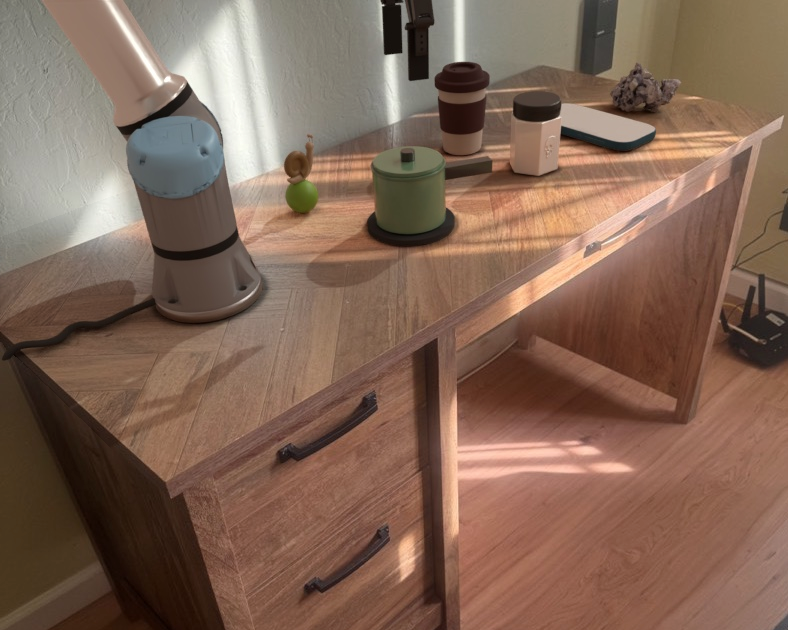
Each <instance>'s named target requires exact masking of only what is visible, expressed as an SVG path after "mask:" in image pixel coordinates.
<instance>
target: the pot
mask: <svg viewBox="0 0 788 630" xmlns="http://www.w3.org/2000/svg"><path fill="white" fill-rule="evenodd" d="M369 166H370V167H369V168H370V172H371V178H372V190H373V204H374V211H375V218H376V223H377V225H378V226H379V227H380V228H382V229H384V230H386V231H389V232H392V233H398V234H417V233H423V232H427V231H430V230H433V229H435V228H437V227H439V226H440V225H441V224H442V223H443V222H444V221H445V218H446V208H447V205H446V203H447V201H446V200H447V199H446V197H447V196H446V181H449V180H455V179H456V180H457V179H461V178H468V177H474V176H480V175H486V174H491V173H493V159H492V158H491V157H490V156H489V155H485V156H484V155H483V156H479V157H472V158H467V159H461V160H455V161H449V162H447V161H446V158H445V157H444V156H443V154H441V152H440V151H438V150H436V149H433V148H430V147H425V146H417V145H415V146H414V145H407V146H406V145H405V146H399V147H393V148H389V149H387V150H384V151H381V152H380V153H378V154H377V155H376V156H375V157H374V158H373V159H372V161H371V162H370V164H369Z"/></svg>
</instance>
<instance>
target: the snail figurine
mask: <svg viewBox="0 0 788 630" xmlns="http://www.w3.org/2000/svg"><path fill="white" fill-rule="evenodd" d="M306 136H307V138H308V141H307V142H306V143H305V145H304V147H305V153H304V152H303V151H301V150H293V151H291V152H289V153H288V154H287V156H286V157H285V159H284V163H283V170H284V172H285V173H284V174H286V176H288V177H289V178H287V179H286V182H288V183H289V184H288V185H287V187H286V190H285V196H284V197H285V202H286V204H287V205H288V207H289V208H290V209H291V210H292V211H294V212H296V213H299V214H306V213H309V212H311V211H312V210H314V208H315V207H316V206H317V204H318V201H319V192H318V188H317V187H316V186H315V184H314V183H313V182H312V181H310V180H308V179H307V177H309V175H310V174H311V172H312V168H313V165H314V147H315V146H314V143H313V141H311V139H313V138H314V135H313V134H310V133H308V134H307V135H306Z"/></svg>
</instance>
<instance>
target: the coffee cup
mask: <svg viewBox="0 0 788 630" xmlns="http://www.w3.org/2000/svg"><path fill="white" fill-rule="evenodd" d="M490 77H491V75H490V74H489V72H487V71H486V70H484V69H483V68H482V66H481V64H479V63H477V62H472V61H456V62H451V63H447V64H445V65H444V66H443V67H442V69H441V71H440V72H438V73H437V74H436V75H435V76H434V79H433V80H434V87H435V89H437V91H438V95H437V105H438V117H439V127H440V130H441V138H442V139H441V140H442V149H443V151H444V152H446V153H448V154H449V155H452V156H453V155H454V156H468V155H473V154H476V153H477V152H479V151H480V150H481V148H482V143H483V142H482V141H483V131H484V127H485V121H486V110H487V109H486V107H487V94H486V93H487V88H488V87H489V85H490Z"/></svg>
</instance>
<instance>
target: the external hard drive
mask: <svg viewBox="0 0 788 630" xmlns="http://www.w3.org/2000/svg"><path fill="white" fill-rule="evenodd" d="M560 115H561V117H562V120H561V133H560V135H563V136H566V137H570V138H573V139H576V140H580V141H583V142H586V143H590V144H592V145H596V146H599V147H602V148H606V149H608V150H614V151H621V152H622V151H623V152H625V151H631V150H635V149H637V148H639V147H641V146H643V145H646V144H647V143H650V142H652V141H653V140H654V139H655V138H656V135H657V128H656V127H655V126H654V125H652V124H649V123H648V122H643V121H640V120H635V119H632V118H628V117H626V116H625V117H624V116H621V115H617V114H613V113H610V112H606V111H602V110H599V109H596V108H591V107H588V106H584V105H581V104H580V105H579V104H578V103H577V104H576V103H571V102H570V103H569V102H563V103H562V102H561V111H560Z"/></svg>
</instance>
